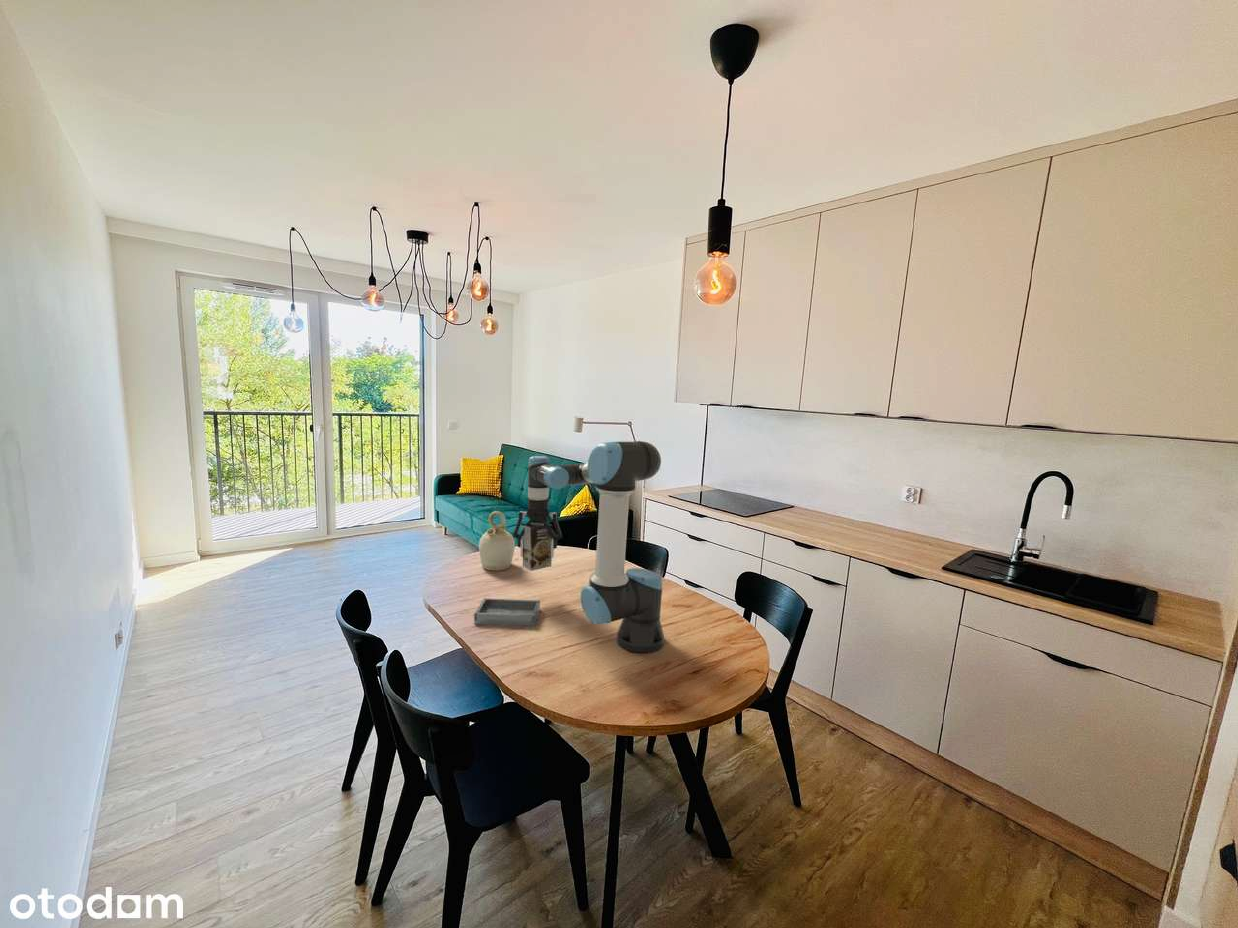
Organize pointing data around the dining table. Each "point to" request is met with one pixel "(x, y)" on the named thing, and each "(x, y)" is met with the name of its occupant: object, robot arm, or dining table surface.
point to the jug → (496, 545)
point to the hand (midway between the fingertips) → (537, 556)
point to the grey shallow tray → (507, 612)
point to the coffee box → (536, 547)
